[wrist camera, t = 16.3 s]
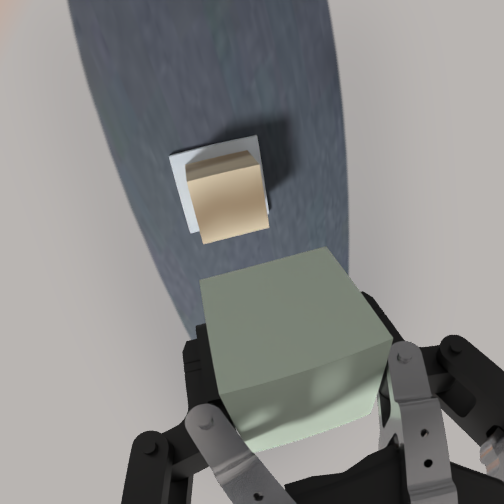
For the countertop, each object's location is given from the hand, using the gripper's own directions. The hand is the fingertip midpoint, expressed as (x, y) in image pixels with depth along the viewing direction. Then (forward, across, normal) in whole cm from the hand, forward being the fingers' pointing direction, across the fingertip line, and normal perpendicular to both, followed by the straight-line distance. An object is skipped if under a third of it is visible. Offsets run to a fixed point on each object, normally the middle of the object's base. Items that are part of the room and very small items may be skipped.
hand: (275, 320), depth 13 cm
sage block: (+1, 0, 0) cm, 1 cm away
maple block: (+15, 0, 0) cm, 15 cm away
